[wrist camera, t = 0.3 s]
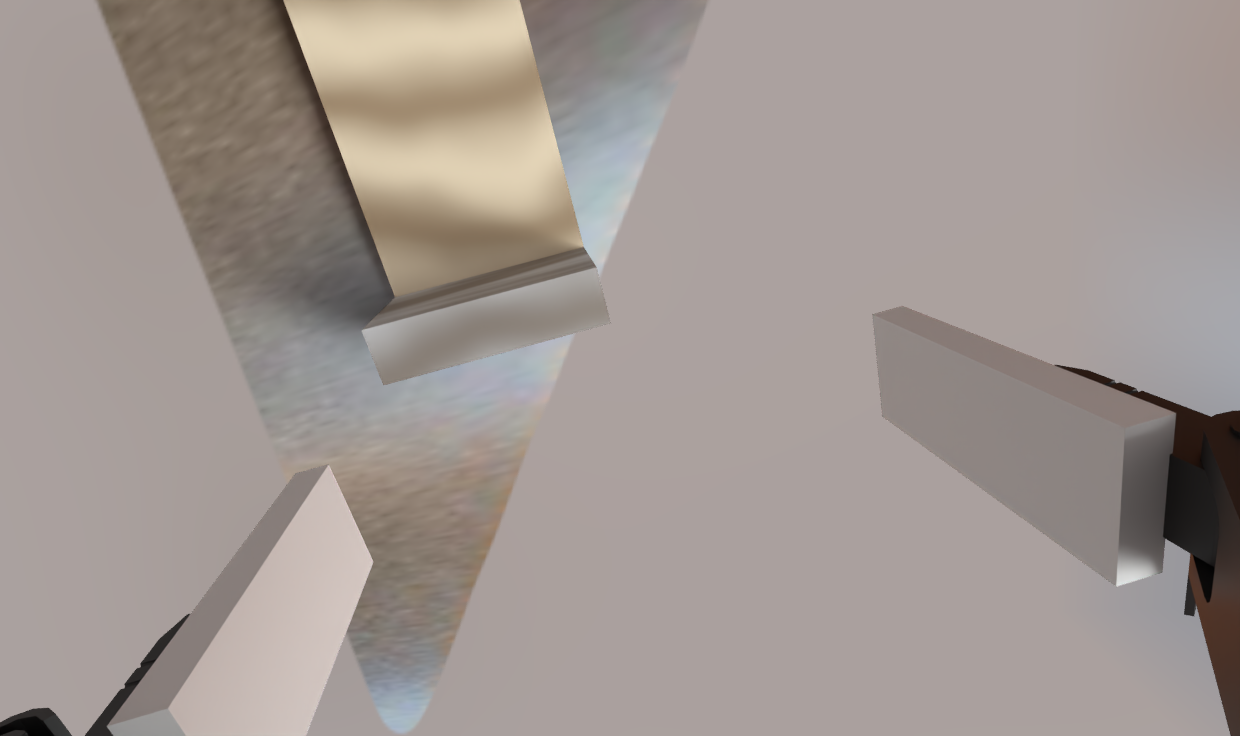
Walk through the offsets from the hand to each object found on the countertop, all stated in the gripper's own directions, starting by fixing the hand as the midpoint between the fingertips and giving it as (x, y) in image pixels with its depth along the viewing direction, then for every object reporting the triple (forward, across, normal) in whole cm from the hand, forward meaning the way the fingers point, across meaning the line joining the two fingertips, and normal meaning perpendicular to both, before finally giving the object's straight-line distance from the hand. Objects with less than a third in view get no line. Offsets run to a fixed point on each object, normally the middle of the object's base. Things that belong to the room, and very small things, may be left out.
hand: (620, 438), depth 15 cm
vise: (+27, -4, +11) cm, 30 cm away
